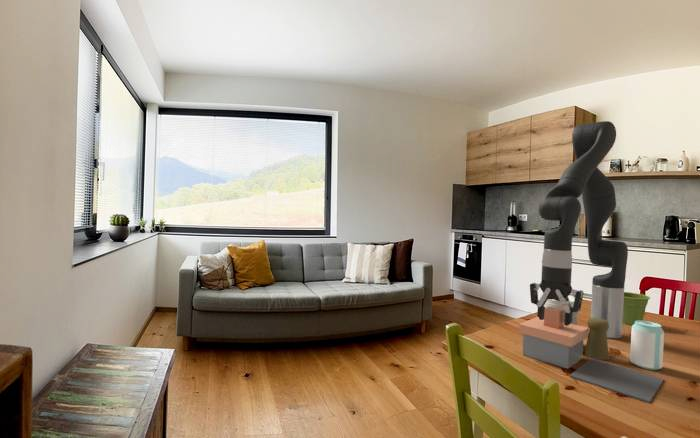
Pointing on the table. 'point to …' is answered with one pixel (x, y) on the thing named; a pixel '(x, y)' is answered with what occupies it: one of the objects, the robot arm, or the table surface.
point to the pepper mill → (597, 339)
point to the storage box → (552, 351)
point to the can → (647, 345)
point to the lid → (554, 328)
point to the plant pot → (634, 307)
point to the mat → (619, 379)
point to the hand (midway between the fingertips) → (553, 322)
